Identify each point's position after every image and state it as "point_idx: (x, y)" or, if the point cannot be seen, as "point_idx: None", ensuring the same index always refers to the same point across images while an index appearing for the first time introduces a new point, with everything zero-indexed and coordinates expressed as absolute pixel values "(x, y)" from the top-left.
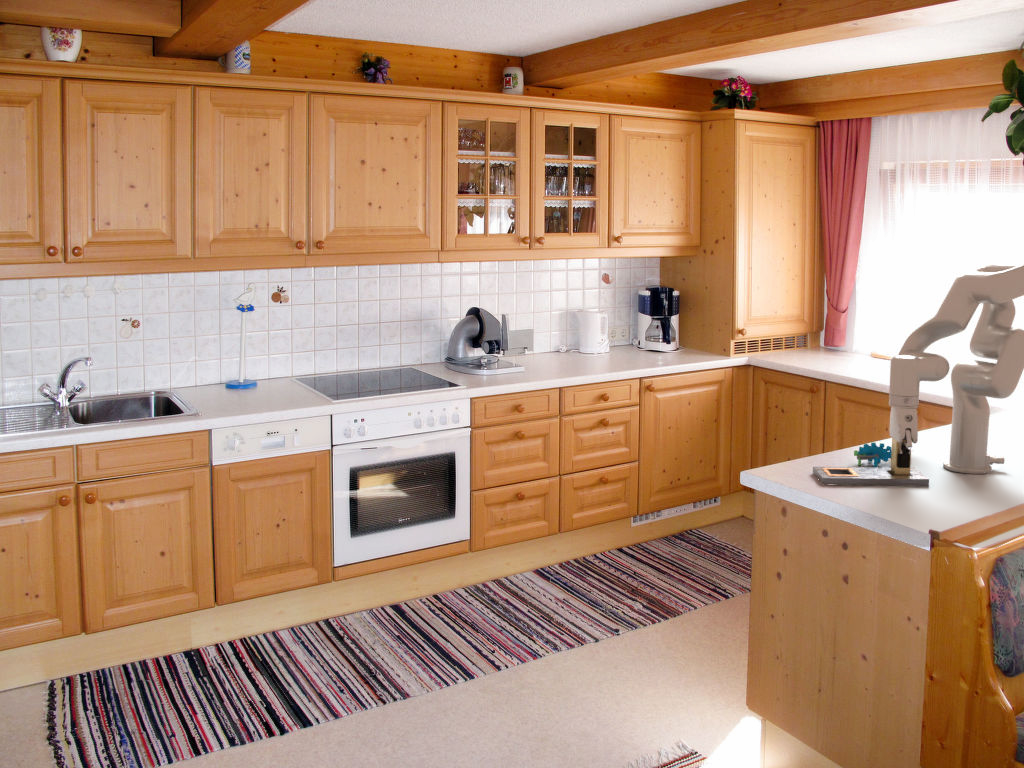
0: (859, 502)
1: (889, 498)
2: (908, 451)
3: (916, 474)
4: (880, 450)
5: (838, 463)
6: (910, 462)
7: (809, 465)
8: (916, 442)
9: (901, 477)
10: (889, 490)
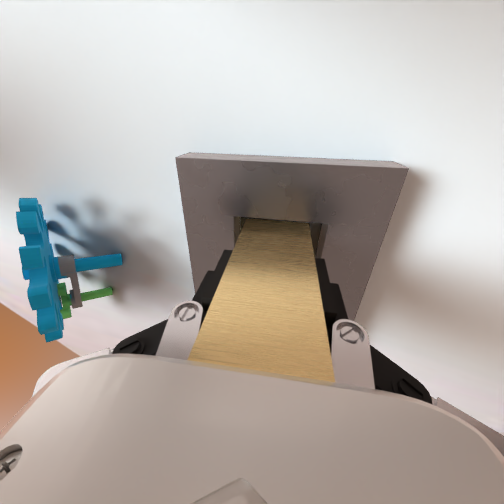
0: (484, 407)
1: (488, 346)
2: (388, 365)
3: (304, 197)
4: (49, 275)
5: (105, 324)
6: (315, 264)
7: None
8: (479, 431)
9: (346, 276)
10: (401, 316)
